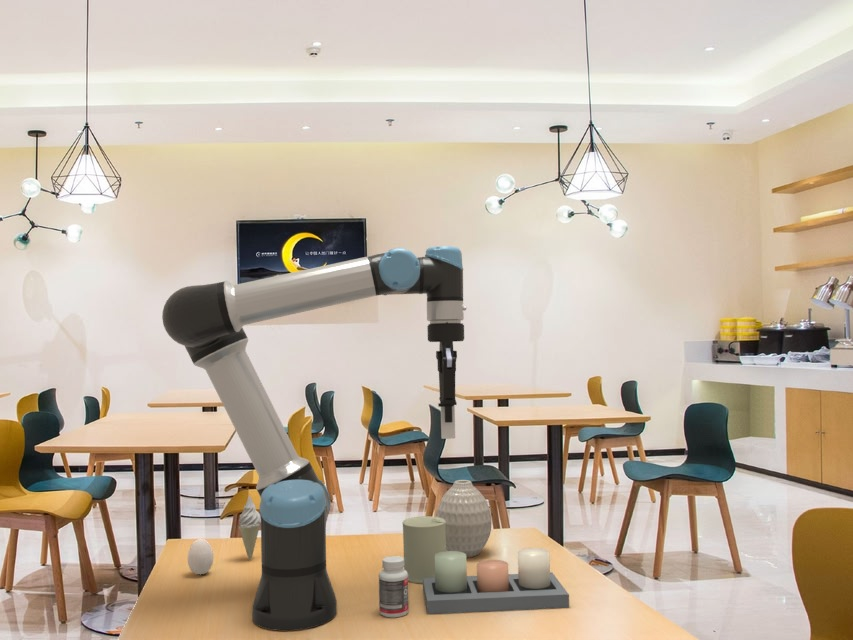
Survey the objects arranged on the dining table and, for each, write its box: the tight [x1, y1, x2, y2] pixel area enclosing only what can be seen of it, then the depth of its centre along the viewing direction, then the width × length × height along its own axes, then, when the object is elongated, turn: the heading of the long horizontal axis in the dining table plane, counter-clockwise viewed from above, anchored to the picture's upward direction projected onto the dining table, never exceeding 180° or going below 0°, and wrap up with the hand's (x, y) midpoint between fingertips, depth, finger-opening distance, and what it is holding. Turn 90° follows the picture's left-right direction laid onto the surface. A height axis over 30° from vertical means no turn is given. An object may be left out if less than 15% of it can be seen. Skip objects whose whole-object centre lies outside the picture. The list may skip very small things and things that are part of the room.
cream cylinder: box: [517, 547, 551, 589], centre depth 144 cm, size 6×6×6 cm
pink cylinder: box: [476, 559, 509, 593], centre depth 143 cm, size 6×6×6 cm
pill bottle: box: [378, 555, 410, 618], centre depth 137 cm, size 5×5×10 cm
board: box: [422, 571, 570, 615], centre depth 143 cm, size 26×13×2 cm, turn 94°
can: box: [402, 515, 447, 585], centre depth 157 cm, size 9×9×12 cm
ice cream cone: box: [237, 494, 261, 561], centre depth 172 cm, size 5×5×15 cm
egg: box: [187, 538, 214, 576], centre depth 162 cm, size 5×5×8 cm
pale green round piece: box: [435, 550, 468, 593], centre depth 143 cm, size 6×6×6 cm
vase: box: [435, 479, 493, 559], centre depth 173 cm, size 13×13×17 cm
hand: (448, 437), depth 153 cm, fingers closed
